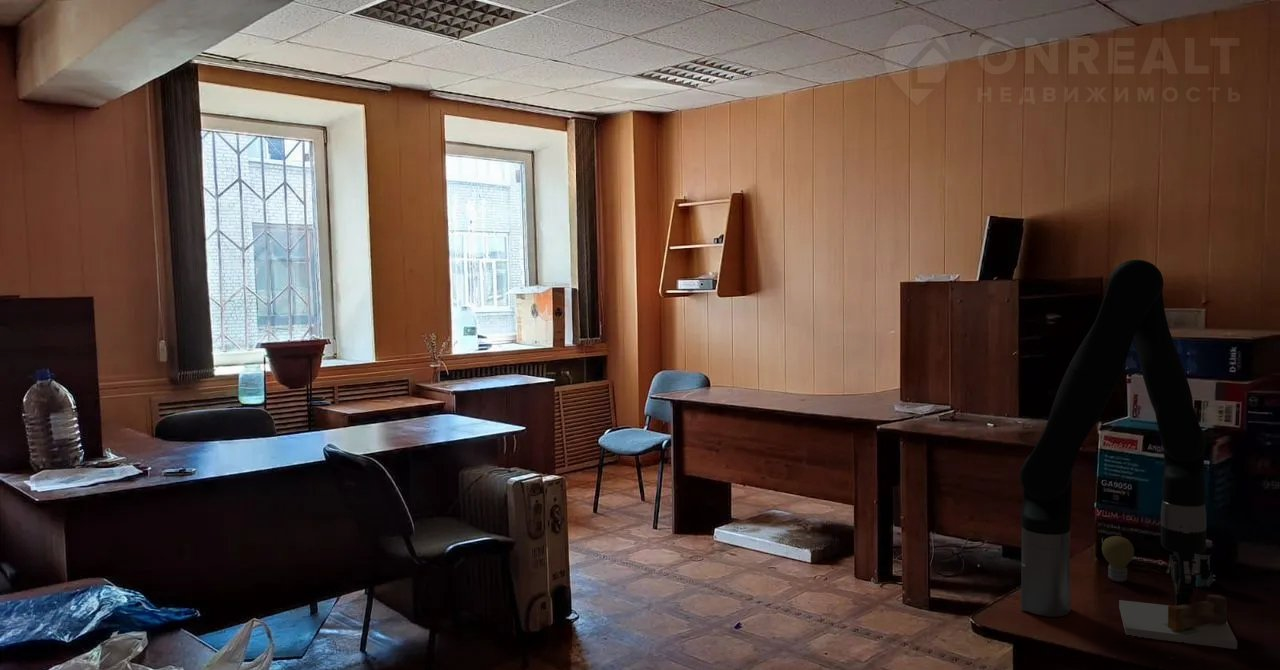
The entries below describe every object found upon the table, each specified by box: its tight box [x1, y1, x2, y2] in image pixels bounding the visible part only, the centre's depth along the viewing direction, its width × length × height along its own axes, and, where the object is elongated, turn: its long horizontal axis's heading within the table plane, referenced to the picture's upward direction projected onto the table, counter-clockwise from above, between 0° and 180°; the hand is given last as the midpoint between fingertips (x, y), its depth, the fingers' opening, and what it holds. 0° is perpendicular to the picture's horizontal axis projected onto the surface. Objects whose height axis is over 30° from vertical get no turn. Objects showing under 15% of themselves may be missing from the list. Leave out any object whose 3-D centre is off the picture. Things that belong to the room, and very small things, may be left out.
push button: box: [1193, 538, 1218, 588], centre depth 193 cm, size 7×5×10 cm
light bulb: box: [1101, 535, 1135, 583], centre depth 197 cm, size 6×6×10 cm
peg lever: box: [1168, 594, 1228, 631], centre depth 168 cm, size 12×3×5 cm, turn 105°
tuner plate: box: [1118, 599, 1238, 650], centre depth 172 cm, size 18×15×2 cm
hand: (1182, 611), depth 170 cm, fingers closed
